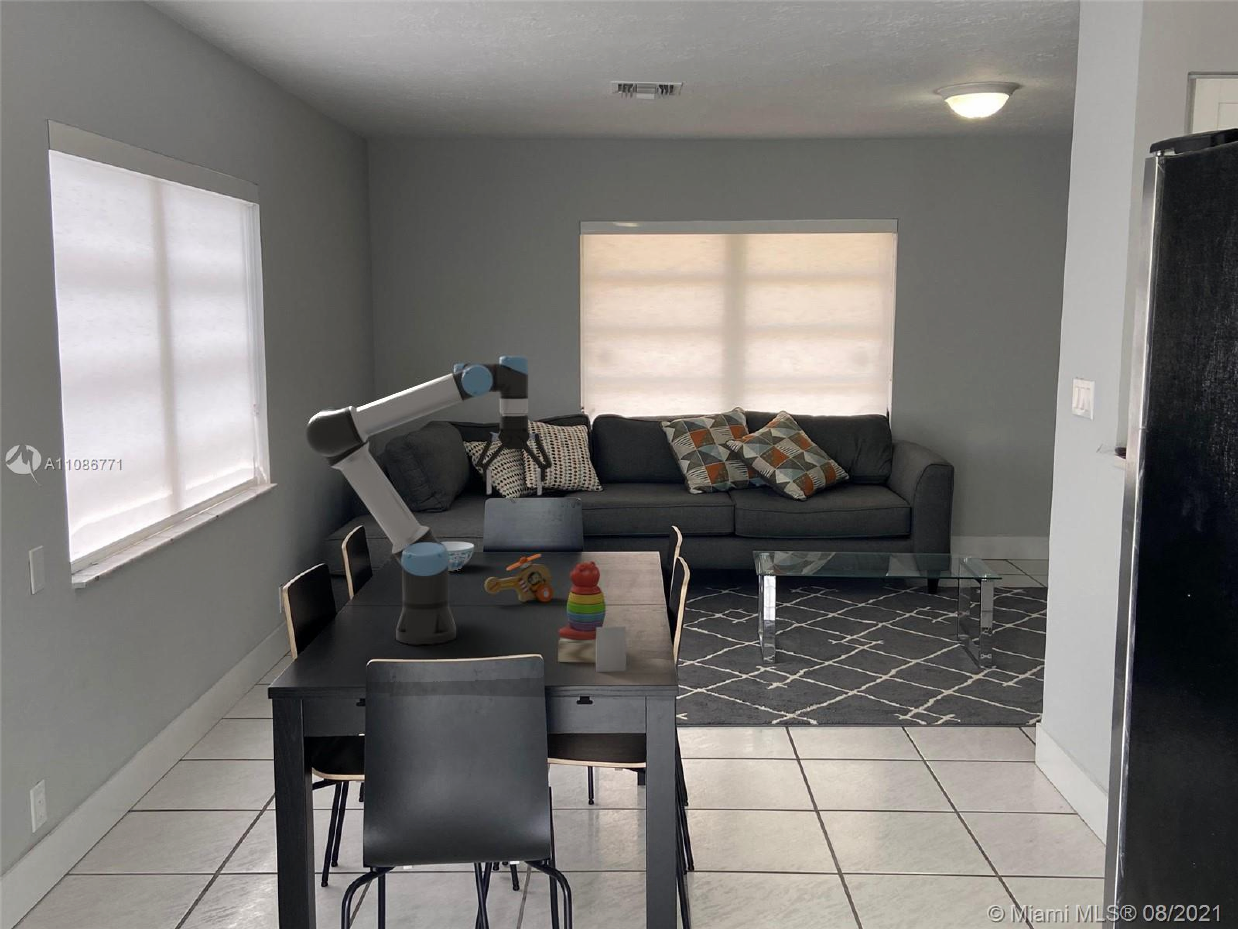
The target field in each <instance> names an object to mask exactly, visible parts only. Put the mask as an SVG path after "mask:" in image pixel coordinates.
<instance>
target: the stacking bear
mask: <svg viewBox="0 0 1238 929" xmlns="http://www.w3.org/2000/svg"><path fill="white" fill-rule="evenodd" d="M600 573H601V572H600V570H599V567H598V566H597V565H596V563H595V562H594V561H590V562H580V563H578V564H577V565H575V567H574V568H573V569H572V571H570V573H569V578H570V580H571V582H572V584H573V586H572V587H571V588H570V591H569V595H568V598H567V599H568V600H567V602H566V615H567V618H568V625H566V626H564V627H562V628H560V629H559V630H558V631H557V632H558V634H557V635H558V637H560V638H561V637H563V638H568V639H576V640H592V639H596V627H604V621H605V618H606V617H605V616H606V613H607V610H606V601H605V595H604V592H603V590H602V589H601V587H599V585H598V584H599V581H600V577H601V574H600Z"/></svg>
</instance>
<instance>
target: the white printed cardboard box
mask: <svg viewBox="0 0 1238 929" xmlns="http://www.w3.org/2000/svg"><path fill="white" fill-rule="evenodd" d="M595 670H596V673H602V672H603V673H605V672H626V671H627V633H626V626H602V627H596V663H595Z"/></svg>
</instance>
